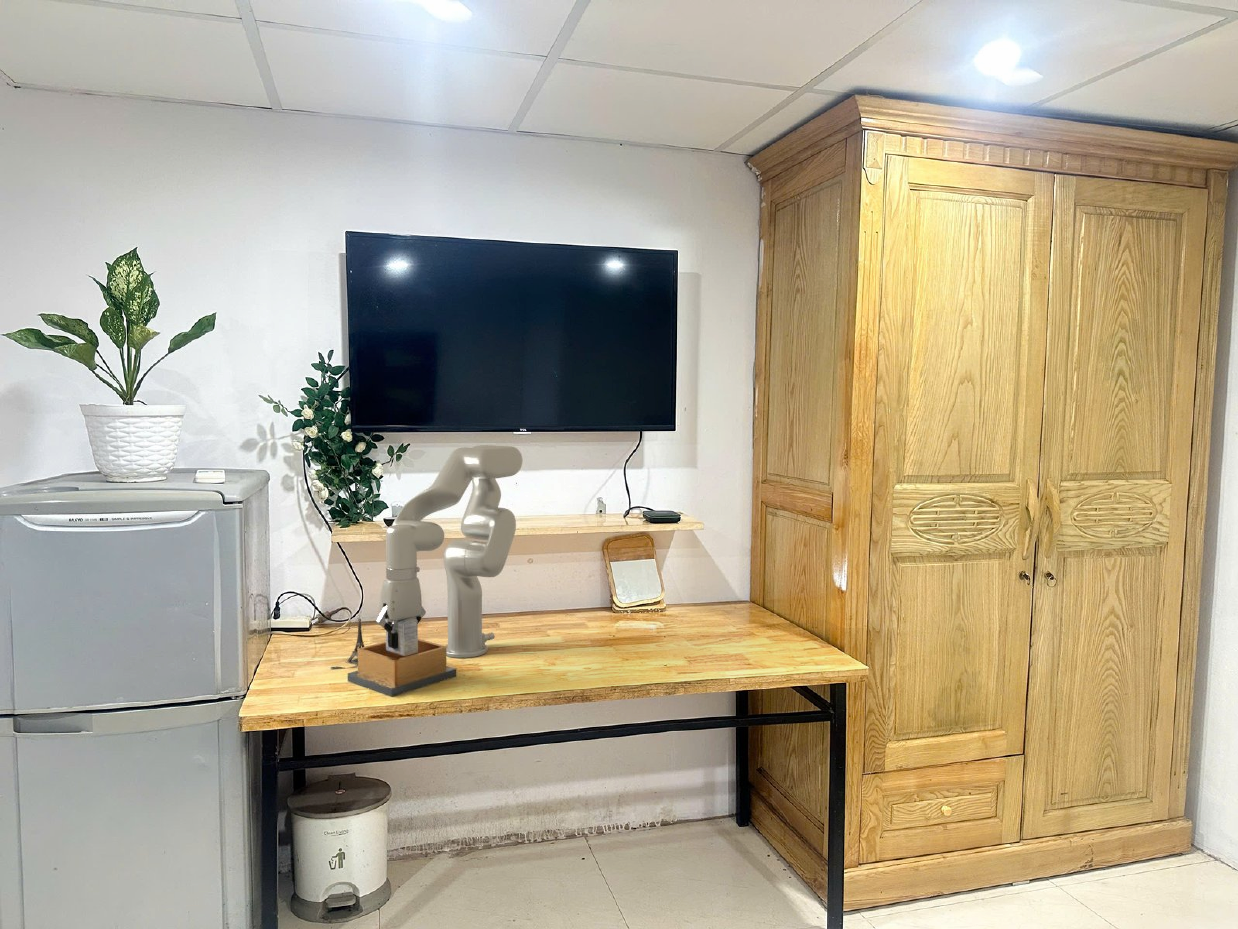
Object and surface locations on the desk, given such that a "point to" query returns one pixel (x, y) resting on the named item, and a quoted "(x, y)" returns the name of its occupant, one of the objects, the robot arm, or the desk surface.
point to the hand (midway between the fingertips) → (401, 644)
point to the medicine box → (405, 637)
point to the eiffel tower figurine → (355, 652)
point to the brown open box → (401, 668)
